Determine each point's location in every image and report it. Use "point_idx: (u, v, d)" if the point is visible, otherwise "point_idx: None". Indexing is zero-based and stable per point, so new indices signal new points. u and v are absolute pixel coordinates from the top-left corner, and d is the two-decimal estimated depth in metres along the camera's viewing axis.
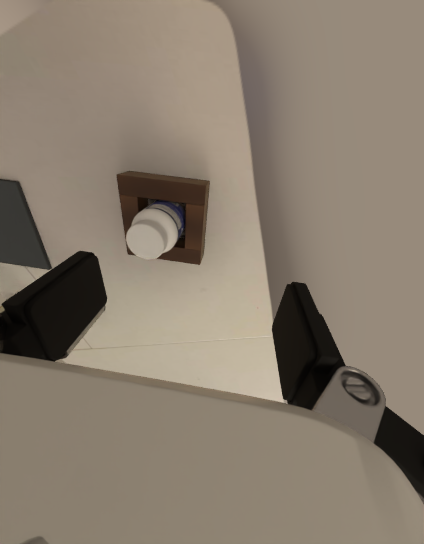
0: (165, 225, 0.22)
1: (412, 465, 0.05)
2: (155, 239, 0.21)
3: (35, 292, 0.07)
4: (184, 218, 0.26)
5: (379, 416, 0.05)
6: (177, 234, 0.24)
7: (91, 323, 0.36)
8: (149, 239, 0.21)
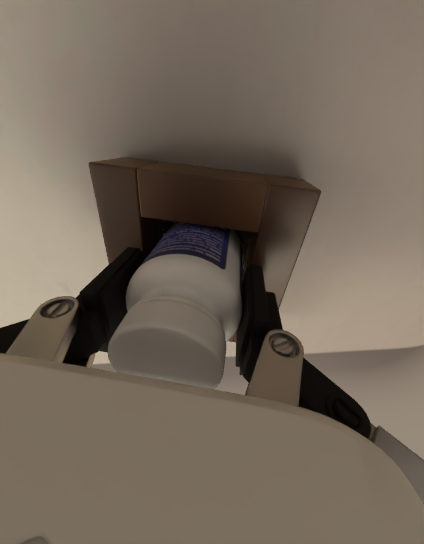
0: None
1: None
2: None
3: (104, 282, 0.08)
4: None
5: (300, 362, 0.06)
6: None
7: None
8: (176, 377, 0.07)
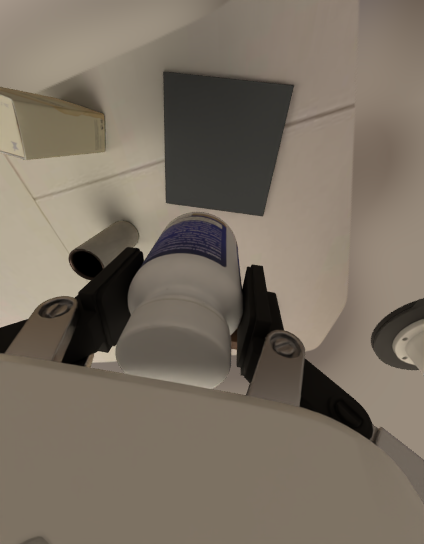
0: None
1: None
2: None
3: (103, 282, 0.08)
4: None
5: (302, 363, 0.06)
6: None
7: None
8: (184, 374, 0.07)
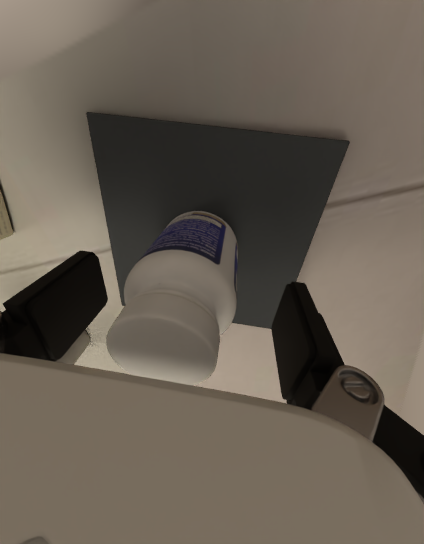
0: None
1: (410, 464, 0.05)
2: (175, 378, 0.08)
3: (37, 292, 0.07)
4: None
5: (377, 415, 0.05)
6: None
7: None
8: (171, 367, 0.08)
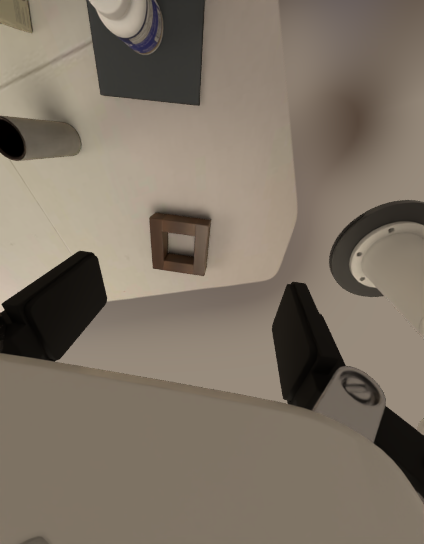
0: (130, 18, 0.20)
1: (412, 465, 0.05)
2: None
3: (35, 292, 0.07)
4: (143, 49, 0.25)
5: (379, 416, 0.05)
6: (123, 37, 0.22)
7: None
8: None
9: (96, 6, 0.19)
